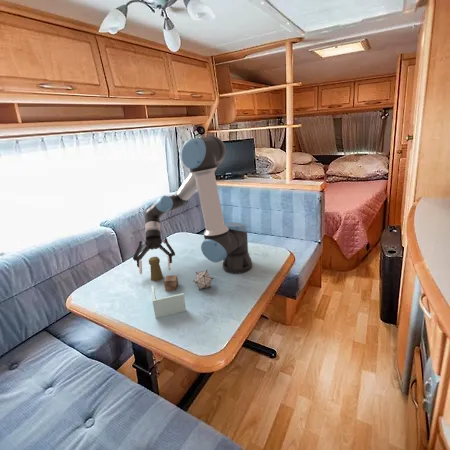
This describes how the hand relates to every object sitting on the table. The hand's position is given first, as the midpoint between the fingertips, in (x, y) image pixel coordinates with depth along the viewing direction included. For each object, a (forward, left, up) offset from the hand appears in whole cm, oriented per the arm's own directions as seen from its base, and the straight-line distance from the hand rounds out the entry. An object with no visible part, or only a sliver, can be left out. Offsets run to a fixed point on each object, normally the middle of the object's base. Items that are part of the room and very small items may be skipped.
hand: (155, 271), depth 137 cm
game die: (-25, +5, -5) cm, 26 cm away
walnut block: (-10, +6, -5) cm, 13 cm away
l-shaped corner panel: (-15, +20, -5) cm, 25 cm away
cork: (+1, -2, -5) cm, 5 cm away
